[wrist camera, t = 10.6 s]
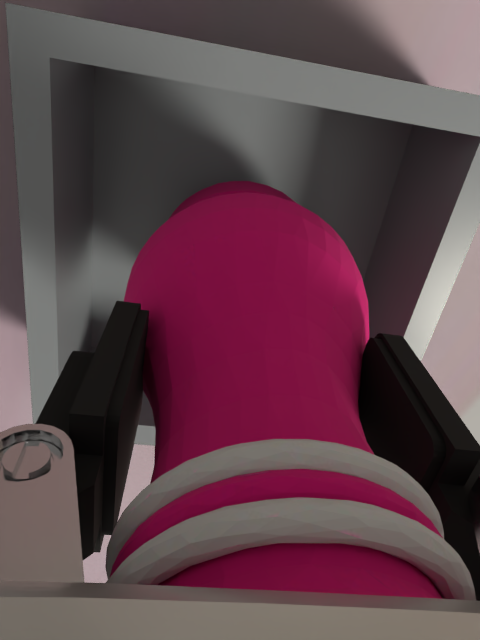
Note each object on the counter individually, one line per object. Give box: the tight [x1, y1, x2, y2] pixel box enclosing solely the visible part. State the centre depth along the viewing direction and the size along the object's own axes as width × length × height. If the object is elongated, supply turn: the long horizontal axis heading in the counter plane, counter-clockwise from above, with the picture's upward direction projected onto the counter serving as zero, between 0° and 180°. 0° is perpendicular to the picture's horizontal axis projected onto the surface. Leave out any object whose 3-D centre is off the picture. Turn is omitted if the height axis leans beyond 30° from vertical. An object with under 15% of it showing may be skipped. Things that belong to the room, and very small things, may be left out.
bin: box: [5, 3, 480, 446], centre depth 18 cm, size 14×14×6 cm
